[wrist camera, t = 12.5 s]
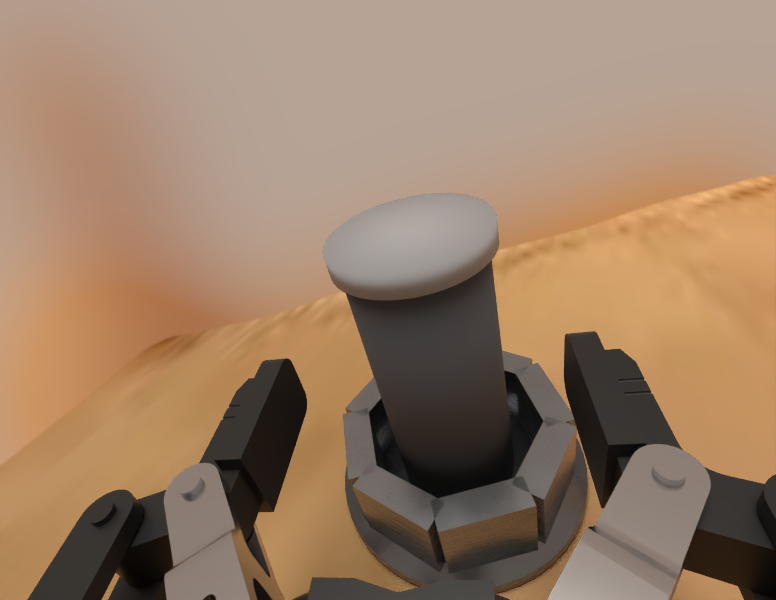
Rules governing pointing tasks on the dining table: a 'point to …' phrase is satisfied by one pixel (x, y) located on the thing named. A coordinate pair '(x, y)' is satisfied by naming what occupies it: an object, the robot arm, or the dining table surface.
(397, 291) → the white-topped grey cylinder
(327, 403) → the dining table surface
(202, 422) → the dining table surface
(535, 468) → the octagonal ring holder
